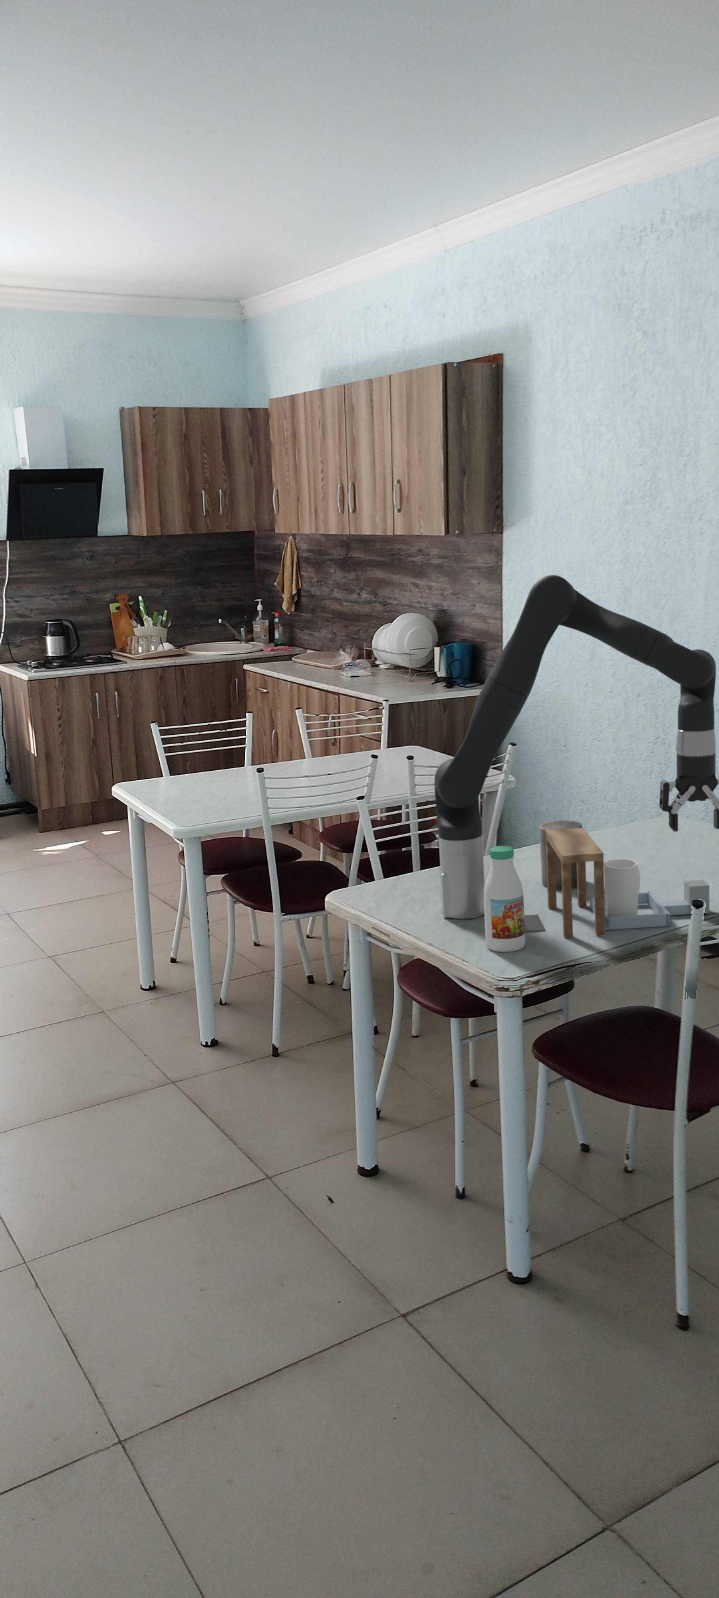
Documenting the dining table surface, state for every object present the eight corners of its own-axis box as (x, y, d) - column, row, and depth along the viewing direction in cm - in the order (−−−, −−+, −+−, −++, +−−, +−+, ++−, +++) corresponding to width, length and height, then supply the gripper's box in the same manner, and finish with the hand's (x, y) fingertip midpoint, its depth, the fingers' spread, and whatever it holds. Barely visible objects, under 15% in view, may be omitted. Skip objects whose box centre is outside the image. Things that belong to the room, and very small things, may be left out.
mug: (626, 927, 235) (625, 870, 232) (598, 921, 240) (597, 865, 237) (653, 913, 242) (653, 858, 239) (625, 908, 246) (624, 853, 244)
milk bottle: (479, 950, 228) (474, 851, 224) (497, 937, 234) (492, 841, 230) (514, 955, 224) (510, 855, 220) (532, 942, 230) (528, 844, 226)
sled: (605, 929, 233) (604, 901, 232) (590, 906, 248) (589, 879, 247) (717, 922, 233) (717, 893, 232) (695, 899, 248) (695, 872, 247)
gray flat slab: (516, 933, 236) (516, 932, 236) (509, 917, 246) (509, 916, 246) (545, 931, 236) (545, 930, 236) (537, 915, 246) (537, 914, 246)
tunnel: (564, 938, 231) (562, 855, 227) (548, 906, 251) (545, 830, 247) (605, 935, 231) (603, 853, 227) (585, 904, 251) (583, 827, 247)
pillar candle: (593, 883, 264) (591, 819, 261) (559, 892, 260) (557, 827, 256) (565, 875, 273) (563, 812, 269) (532, 883, 268) (529, 819, 265)
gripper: (665, 756, 229) (665, 836, 233) (737, 752, 229) (737, 831, 233) (655, 749, 237) (656, 827, 240) (725, 745, 237) (725, 822, 240)
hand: (696, 829), depth 237 cm, fingers open, 8 cm apart
